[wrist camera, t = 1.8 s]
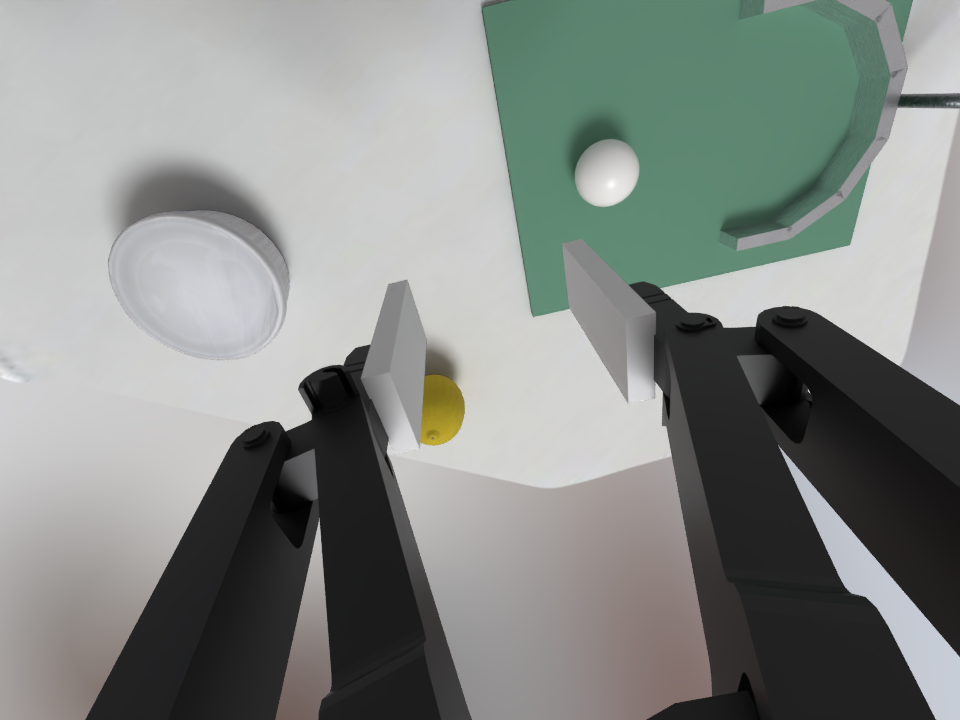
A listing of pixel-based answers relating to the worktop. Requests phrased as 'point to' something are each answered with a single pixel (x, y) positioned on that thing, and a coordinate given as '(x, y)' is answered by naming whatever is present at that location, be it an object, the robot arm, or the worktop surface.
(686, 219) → the putting mat
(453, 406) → the lemon
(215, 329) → the ramekin
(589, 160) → the golf ball
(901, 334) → the worktop surface
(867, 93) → the cup
